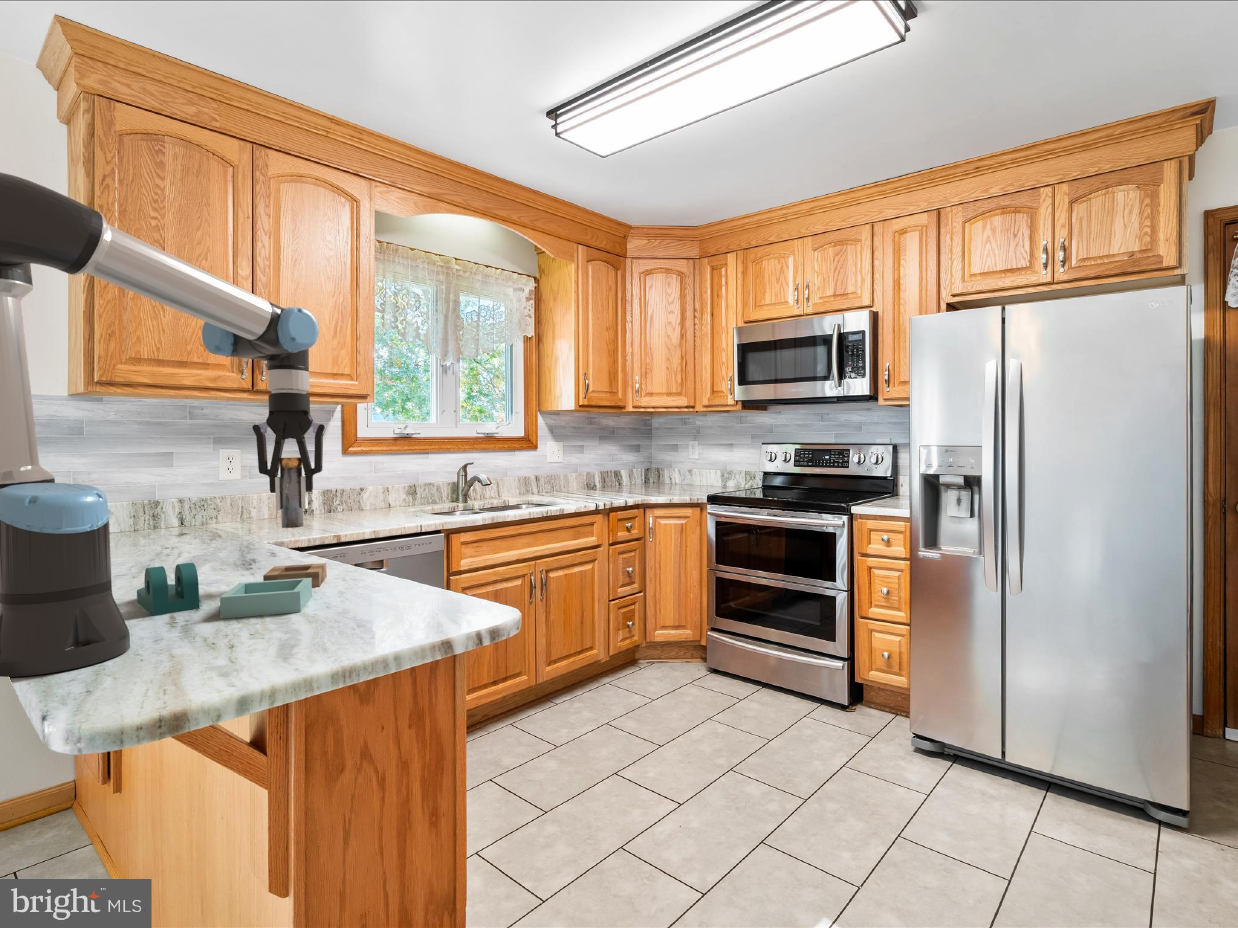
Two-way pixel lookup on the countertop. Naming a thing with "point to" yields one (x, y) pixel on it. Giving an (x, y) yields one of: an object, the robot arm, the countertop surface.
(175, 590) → the bracket
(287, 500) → the hitch pin
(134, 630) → the countertop surface
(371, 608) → the countertop surface
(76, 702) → the countertop surface
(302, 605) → the tray
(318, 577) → the collar block
